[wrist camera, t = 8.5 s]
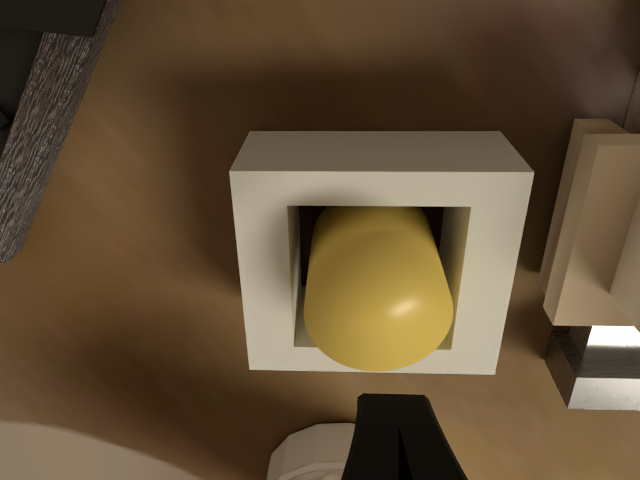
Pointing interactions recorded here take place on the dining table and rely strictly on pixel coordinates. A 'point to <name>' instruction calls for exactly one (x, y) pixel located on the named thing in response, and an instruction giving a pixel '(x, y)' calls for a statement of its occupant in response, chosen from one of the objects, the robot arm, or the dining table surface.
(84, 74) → the picture frame
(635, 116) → the gray block handle
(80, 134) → the dining table surface
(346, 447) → the white cup
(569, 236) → the carriage
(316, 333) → the cylinder
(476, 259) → the frame
